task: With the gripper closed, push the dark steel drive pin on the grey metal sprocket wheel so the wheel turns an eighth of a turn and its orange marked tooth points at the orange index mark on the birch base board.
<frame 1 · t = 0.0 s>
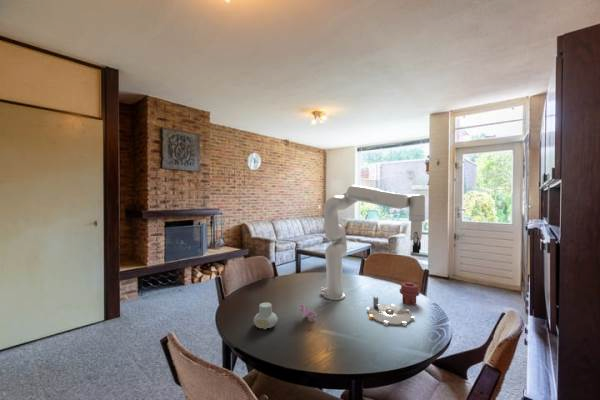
hand: (416, 251, 143), 31 cm above the table, fingers open, 9 cm apart
lily: (306, 322, 132), on the table
mechanical component: (409, 305, 151), on the table
air freshener: (265, 326, 127), on the table
sprocket base: (389, 318, 135), on the table
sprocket: (389, 308, 135), point 5 cm above the table, hinge at 0.0°
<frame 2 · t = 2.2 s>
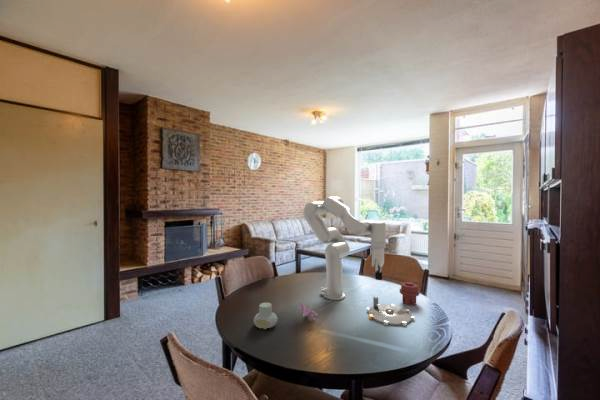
hand: (378, 279, 146), 16 cm above the table, fingers closed
nothing on the table moved.
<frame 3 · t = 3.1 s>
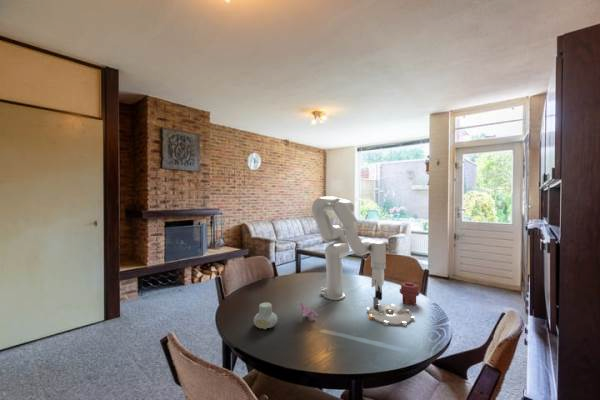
hand: (378, 299, 146), 5 cm above the table, fingers closed
nothing on the table moved.
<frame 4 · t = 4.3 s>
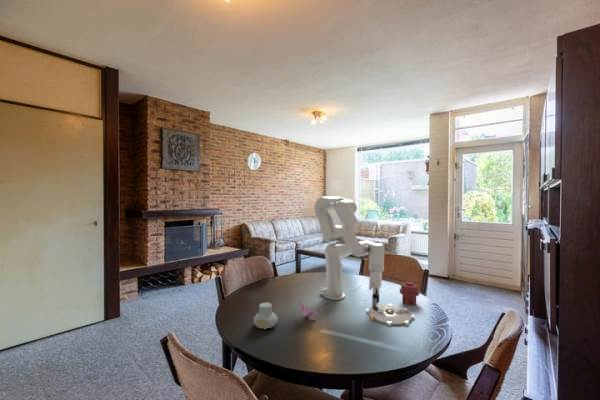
hand: (375, 301, 144), 5 cm above the table, fingers closed
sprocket: (389, 308, 135), point 5 cm above the table, hinge at 7.5°, touching gripper
everything else where it was.
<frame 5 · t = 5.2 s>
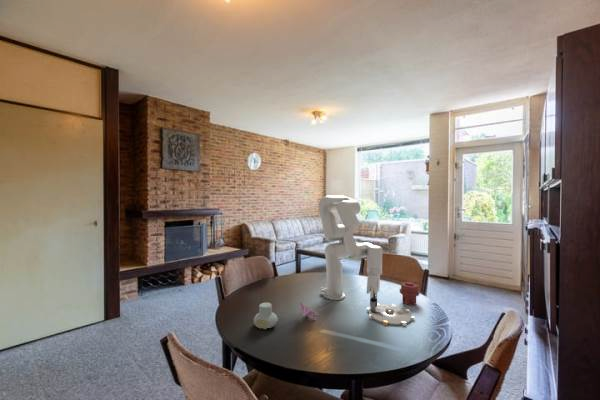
hand: (373, 306, 139), 4 cm above the table, fingers closed
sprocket: (389, 308, 135), point 5 cm above the table, hinge at 43.9°, touching gripper
everything else where it was.
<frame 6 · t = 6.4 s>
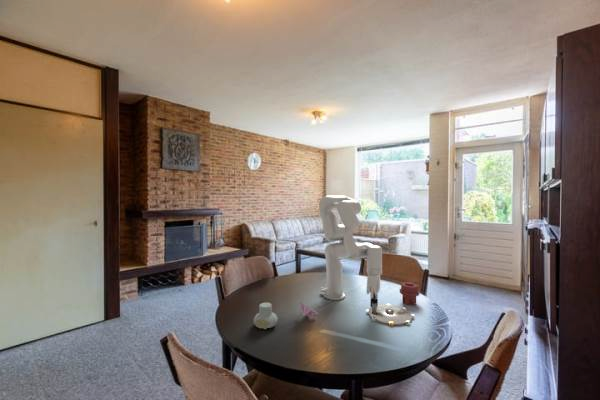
hand: (374, 306, 138), 4 cm above the table, fingers closed
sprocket: (389, 308, 135), point 5 cm above the table, hinge at 57.4°
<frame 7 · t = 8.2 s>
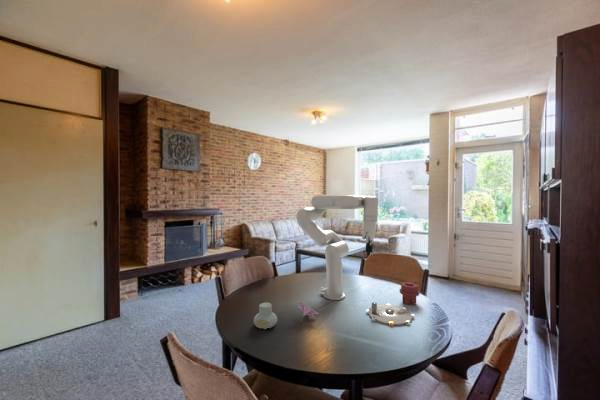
hand: (368, 251, 151), 29 cm above the table, fingers closed
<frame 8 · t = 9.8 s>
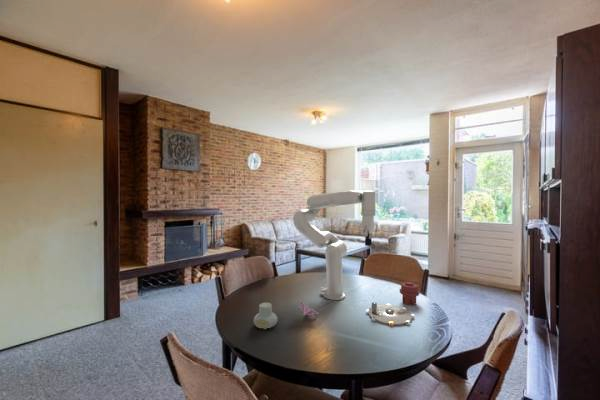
hand: (368, 245, 154), 32 cm above the table, fingers closed
at the end: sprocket at +57° (first picture: +0°); mechanical component moved 0.2 cm from its start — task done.
